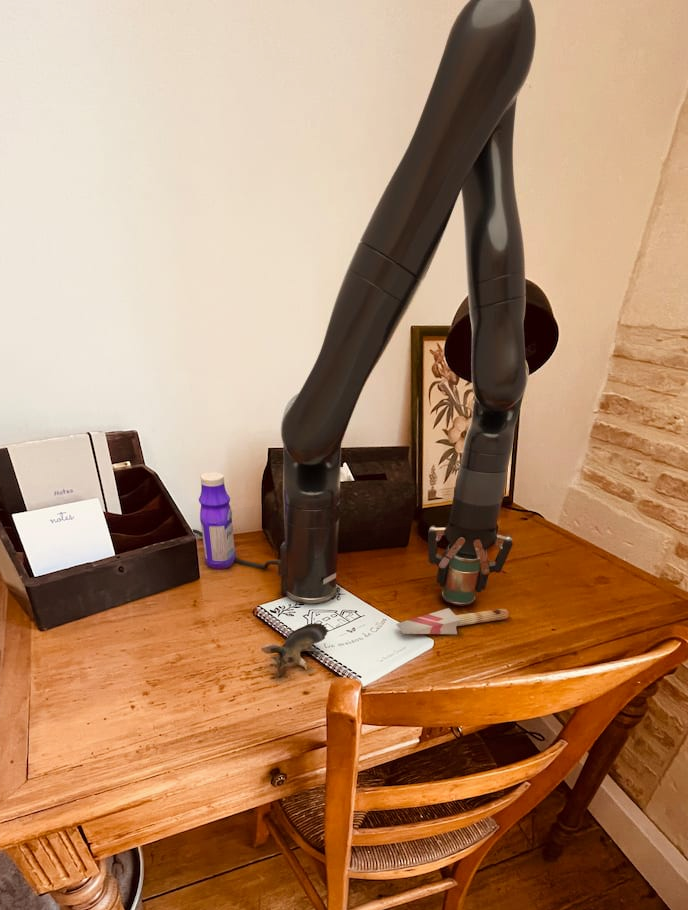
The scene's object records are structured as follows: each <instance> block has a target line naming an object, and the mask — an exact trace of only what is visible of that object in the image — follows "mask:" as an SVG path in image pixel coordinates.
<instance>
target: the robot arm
mask: <svg viewBox="0 0 688 910" xmlns="http://www.w3.org/2000/svg"><path fill="white" fill-rule="evenodd" d="M536 24H537V23H536V17H535V11H534V8H533V5H532V2H531V0H468V1H467V2H466V4H465V5H464V6H463V8H461V10H460V12H459V13H458V15H457V16H456V18H455V19H454V22H453V23H452V26H451V27H450V30H449V33H448V35H447V38H446V41H445V42H446V43H445V46H444V49H443V52H442V56H441V58H440V62H439V64H438V67H437V70H436V74H435V76H434V78H433V82H432V83H431V84H432V85H431V88H430V90H429V93H428V96H427V99H426V101H425V103H424V106H423V109H422V112H421V114H420V117H419V120H418V122H417V125H416V128H415V130H414V133H413V134H412V137H411V139H410V142H409V143H408V146H407V148H406V150H405V152H404V154H403V156H402V157H401V160H400V162H399V163H398V165H397V167H396V168H395V171H394V172H393V174H392V175H391V177H390V180H389V181H388V183H387V185H386V187H385V189H384V191H383V192H382V195H381V197H380V198H379V200H378V202H377V204H376V206H375V208H374V210H373V212H372V214H371V216H370V219H369V221H368V223H367V225H366V227H365V229H364V231H363V233H362V235H361V237H360V240H359V242H358V244H357V245H356V249H355V251H354V253H353V255H352V258H351V260H350V261H349V264H348V266H347V269H346V271H345V273H344V276H343V278H342V282H341V284H340V287H339V290H338V292H337V296H336V298H335V301H334V304H333V307H332V310H331V314H330V317H329V321H328V324H327V327H326V330H325V334H324V337H323V341H322V344H321V348H320V351H319V353H318V356H317V357H316V360H315V362H314V365H313V367H312V368H311V370H310V372H309V374H308V376H307V377H306V379H305V381H304V383H303V385H302V387H301V388H300V391H299V392H298V393H296V394H295V395H294V396H292V398H290V400H288V402H287V403H286V405H285V407H284V410H283V413H282V417H281V421H280V422H281V423H280V438H281V442H282V447H283V448H282V449H283V450H282V452H283V453H282V454H283V468H282V469H283V471H282V473H283V475H282V477H283V478H282V501H283V503H282V504H283V542H282V544H281V545H280V548H279V553H280V555H279V556H280V559H279V560H268V561H266V562H265V563H264V564H259V563H253V562H249V561H246V560H243V559H240V558H239V557H235V560H234V562H235V563H238V564H240V565H243V566H249V567H252V568H256V569H262V570H263V569H264V570H265V569H268V568H269V566H272V565H273V566H275V565H276V566H277V576H280V586H281V589H280V590H281V595H282V596H286V597H288V599H290V600H292V601H294V602H297V603H301V604H307V605H308V604H309V605H310V604H311V605H315V604H322V603H325V602H328V601H330V600H331V599H333V598H335V596H336V594H337V589H338V588H337V573H338V572H337V571H338V551H339V528H340V527H339V526H340V525H339V524H340V503H341V501H340V500H341V472H342V471H341V468H342V467H341V466H342V465H341V463H342V462H341V460H342V444H343V440H344V438H345V435H346V432H347V429H348V427H349V424H350V422H351V418H352V416H353V413H354V411H355V409H356V407H357V404H358V401H359V399H360V397H361V394H362V392H363V390H364V389H365V388H364V387H365V386H366V384H367V381H368V380H369V378H370V376H371V374H372V373H373V371H374V369H375V368H376V366H377V365H378V363H379V361H380V360H381V358H382V357H383V356H384V353H385V352H386V351H387V348H388V347H389V344H391V341H392V339H393V338H394V336H395V334H396V333H397V330H398V329H399V327H400V325H401V324H402V322H403V320H404V318H405V316H406V315H407V313H408V311H409V310H410V308H411V305H412V303H413V301H414V300H415V298H416V295H417V294H418V291H419V290H420V288H421V286H422V283H423V282H424V280H425V278H426V276H427V273H428V271H429V269H430V267H431V265H432V262H433V260H434V259H435V257H436V256H435V255H436V253H437V251H438V248H439V247H440V244H441V242H442V239H443V237H444V234H445V232H446V230H447V227H448V224H449V222H450V219H451V216H452V213H453V211H454V209H455V206H456V203H457V200H458V197H459V196H460V193H461V200H462V211H463V229H464V246H465V248H464V249H465V250H464V251H465V267H466V284H467V297H468V299H467V300H468V309H469V312H468V313H469V319H470V325H471V361H470V363H471V385H472V386H471V387H472V391H473V395H474V402H473V408H472V414H471V420H470V424H469V426H468V429H467V431H466V435H465V439H464V442H463V449H462V454H461V461H460V466H459V469H458V473H457V475H456V478H455V479H456V480H455V485H454V488H453V497H452V502H451V509H450V514H449V520H448V523H447V524H446V525H445V527H437V526H435V525H431V526H429V528H428V533H427V544H428V545H427V547H428V550H427V551H428V563H429V564H432V565H433V564H434V565H436V566H437V567H438V568H437V569H438V570H437V575H436V583H437V584H439V587H440V588H444V582H445V576H446V570H447V564H448V563H449V561H450V559H451V560H452V554H456V553H464V554H471V555H477V557H479V558H481V560H480V562H479V563H480V564H481V565H480V566H481V572H480V576H479V581H478V585H477V589H476V593H481V591H484V590H485V589H486V588H487V584H488V579H489V576H490V574H491V573H496V574H499V573H501V572H502V570H503V567H504V566H505V564H506V561H507V559H508V557H509V554H510V552H511V550H512V547H513V546H514V543H513V542H514V541H513V536H512V535H510V534H507V535H506V536H505V535H502V534H499V533H498V532H497V525H498V521H499V517H500V512H501V507H502V503H503V500H504V497H505V491H506V485H507V477H508V468H509V464H510V461H511V455H512V451H513V447H514V446H513V445H514V439H515V429H516V424H517V421H518V418H519V414H520V411H521V407H522V404H523V399H524V397H525V396H524V395H525V393H526V388H527V385H528V382H529V381H528V380H529V376H530V372H529V371H530V369H529V365H528V362H527V360H526V346H525V331H524V321H525V315H526V305H527V304H526V303H527V301H526V300H527V296H526V294H527V293H526V261H525V260H526V259H525V247H524V245H525V244H524V239H523V238H524V237H523V231H522V224H521V219H520V214H519V207H518V202H517V201H518V200H517V194H516V186H515V173H514V133H515V121H516V110H517V101H518V96H519V94H520V92H521V91H522V89H523V87H524V86H525V83H526V81H527V79H528V76H529V74H530V72H531V68H532V65H533V61H534V57H535V51H536V42H537V27H536ZM192 530H193V532H194V533H193V534H196V535H199V536H200V537H201V538H203V535H202V531H200V530H198V529H192ZM442 536H445V538H446V540H447V542H448V545H447V547H446V549H445V551H444V552H443V553H442V555H441V554H439V553H438V542H440V541H441V540H442ZM495 543H496V544H497V549H498V552H497V555H496V557H495V559H494V561H491V562H490V560H489V557H488V552H487V550H488V549H489V548H490V547H491V546H492V545H493V544H495Z"/></svg>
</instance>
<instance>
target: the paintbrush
mask: <svg viewBox="0 0 688 910" xmlns="http://www.w3.org/2000/svg"><path fill="white" fill-rule="evenodd" d="M508 617H509V612H508V610H507V609H506V608H499V609H494V610H492V609H491V610H485V611H476V612H470V613H462V614H455V612H453V611H452V610H451V608H449V607H448V608H444V609H440V610H437V611H434V612H431V613H428V614H425V615H420V616H418V617H415V618H410V619H408V620H405V621H401V622H398V623H395V625H396V626H397V628H398V629H399V630H400V631H401V633H402V634H407V635H410V634H411V635H412V634H413V635H458V631H457V630H458V629H457V627H461V626H469V625H474V624H481V623H488V622H494V621H502V620H506V619H508Z"/></svg>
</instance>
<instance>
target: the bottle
mask: <svg viewBox="0 0 688 910" xmlns="http://www.w3.org/2000/svg"><path fill="white" fill-rule="evenodd" d="M200 487H201V488H200V489H201V491H200V495H199V498H198V502H199V504H200V509H199V510H200V511H199V520H200V526H201V527H200V528H201V532H202V535H203V537H202V542H203V543H202V544H203V553H204V560H205V563H206V565H207V567H208V568H211V569H214V570H225V569H229V568H230V567H231V566H232V565H233V564H234V562H235V561H234V560H235V558H236V548H235V538H234V527H233V511H232V507H231V505H230V502H231V497H230V495H229V494H228V492H227V489H226V485H225V477H224V474H223V473H221V472H216V471H210V472H205V473H203V474H201V475H200Z"/></svg>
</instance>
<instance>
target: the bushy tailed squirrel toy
mask: <svg viewBox="0 0 688 910" xmlns="http://www.w3.org/2000/svg"><path fill="white" fill-rule="evenodd" d="M328 632H329V630H328V629H327V626H326V625H325V624H322V623H319V622H317V623H316V622H314V623H308V624H306V625H303V626H301V627H299V628H297V629H295V630H293V631H291V632H290V633H288V635H287V637H286V639H285V641H284V643H283V644H282V645H277V644H274V643H271V644H267V645H264V646H262V647H260V651H261V652H263V653H264V654H268V655H272V654H278V656H279V657H278V656H271V657H270V659H273V660H275V662H276V663H269V666H270V667H274V668H276V669H277V673H276V677H277V678H279V677H280V676H282V675H284V673H285V672H286V670H287V669H289V668H294V667H296V666H297V665H299V666H300V667H302V668H304V669H305V670H306V671H307V670H308V666H307V664H308V663H307V662H306V661H305V659H303V658H302V656H301V653H302V652H315V648H313V647H312V646H313V645H314V644H318V643H320V642H322V641H324V640H325V639H326V636H327V635H328Z"/></svg>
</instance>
